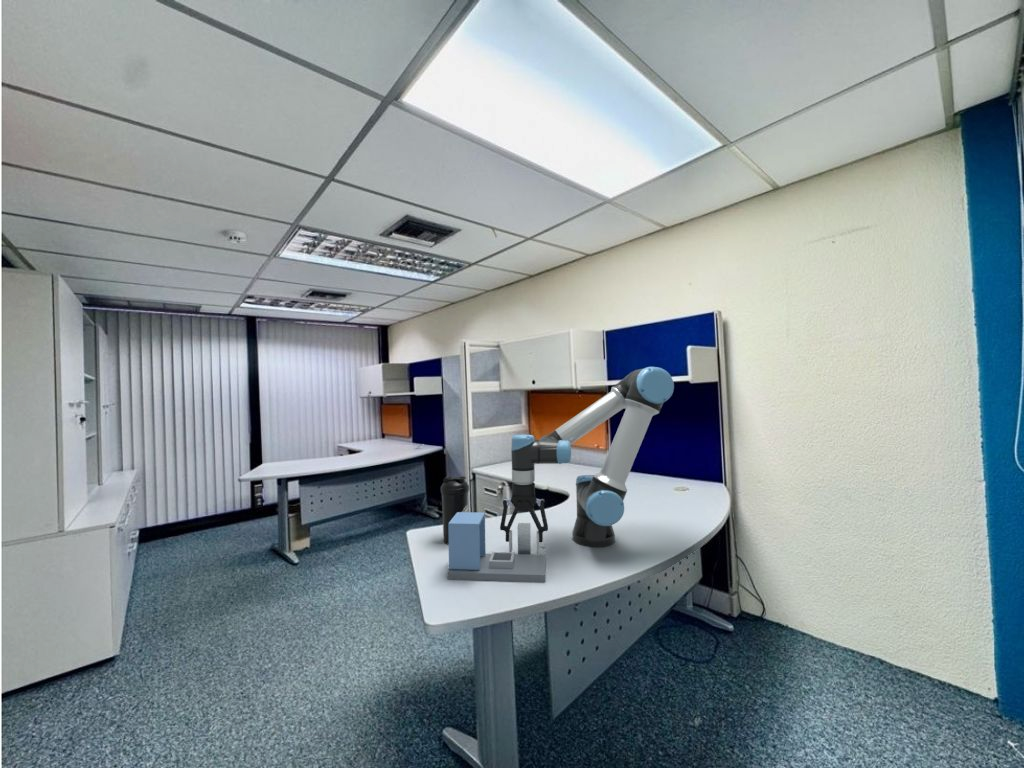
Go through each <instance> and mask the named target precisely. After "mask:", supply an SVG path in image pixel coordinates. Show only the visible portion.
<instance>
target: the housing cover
mask: <svg viewBox="0 0 1024 768" xmlns="http://www.w3.org/2000/svg"><path fill="white" fill-rule="evenodd" d="M448 529H449V545H448V570H449V569H467V570H480V556H485V555H486V554H487V551H486V512H478V511H477V512H473V511H472V512H471V511H468V512H457V513H456V514H455V516H454V517H453V518H452V520H451V521H450V522H449V523H448Z"/></svg>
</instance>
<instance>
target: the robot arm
mask: <svg viewBox="0 0 1024 768" xmlns="http://www.w3.org/2000/svg"><path fill="white" fill-rule="evenodd" d="M674 389H675V383H674V380H673V378H672V376H671V374H670V373H669V372H668V371H667V370H666V369H663V368H662V367H657V366H647V367H644V368H639V369H635V370H633V371H631V372H630V373H629V374H627V375H626V376H625V377H624V378H622V379H621V380H620V381H619V382H617V383H616V384H614V385H613V386H612V387H611V389H610V392H607V393H606V394H605V395H604V396H602V397H600V398H599V399H597V400H596V401H595V402H594V403H592V404H591V405H589V406H587V407H586V408H584V409H583V410H582V411H580V412H579V413H578V414H576V415H575V416H573V417H571V418H570V419H569V420H568V421H566V422H565V423H562V425H560V426H558V428H556V429H554V430H553V431H552V432H550V433H549V434H548V435H544V436H542V437H541V438H540V439H539V440H536V439H535V437H534V435H532V434H515V435H513V436H512V437H511V447H510V449H511V481H512V483H511V491H512V492H511V498H503V501H502V506H503V510H502V514H501V522H500V526H499V529H500V531H503V532H505V542H508V552H513V529H511V527H512V525H513V523H514V521H515V518H516V516H517V514H518V512H529V514H530V516H531V518H532V520H533V523H534V524H535V527H536V529H537V530H536V555H540V543H543V542H544V541H543V540H544V538H543V537H544V535H543V534H544V532H547V531H548V530H549V525H548V520H547V516H546V509H545V499H544V498H541V499H540V498H537V497H536V483H535V480H536V478H535V476H536V472H535V465H536V464H537V465H540V464H541V465H542V464H545V465H550V464H551V465H552V464H553V465H554V464H555V465H556V464H557V465H561V464H569V463H570V462H571V460H572V448H571V445H573V444H574V443H575V442H577V441H578V440H579V439H581V438H582V437H584V436H585V435H587V434H588V433H590V432H592V431H593V430H594V429H595V428H597V427H598V426H600V425H602V424H603V423H605V422H606V421H607V420H609V419H610V418H612V417H613V416H614V415H616V414H618V413H619V412H620V411H623V409H625V411H624V412H623V416H622V417H621V420H620V423H619V425H618V427H617V430H616V433H615V435H614V437H613V440H612V442H611V445H610V447H609V450H608V452H607V455H606V457H605V459H604V461H603V464H602V467H601V469H600V471H599V472H598V473H596V474H595V473H594V474H585V475H584V474H582V475H578V476H577V477H576V480H575V491H576V519H575V522H574V526H573V529H572V532H571V533H572V536H571V538H572V541H574V542H575V543H576V544H579V545H581V546H587V547H594V548H596V547H597V548H599V547H607V546H610V545H613V544H614V543H615V542H616V535H615V530H614V527H613V525H615V524H617V523H618V522H619V521H620V520H621V519H622V517H623V516H624V513H625V503H624V500H625V497H626V495H627V492H628V489H627V486H626V483H627V479H628V476H629V475H630V472H631V470H632V467H633V465H634V462H635V459H636V458H637V454H638V453H639V450H640V447H641V445H642V442H643V440H644V439H645V435H646V433H647V431H648V428H649V425H650V423H651V421H652V418H653V416H656V415H658V414H660V412H661V409H662V407H663V405H664V403H665V402H667V401H668V400H669V399H670V398H671V397H672V396H673V393H674ZM511 504H512V505H513V506H514V509H513V511H512V514H511V517H510V518H509V521H508V523H507V525H506V520H507V516H508V515H507V514H508V508H509V506H510V505H511ZM536 504H537V506H538V507H539V511H540V515H541V521H542V524H541V521H540V520H539V517H538V515H537V513H536V512H535V508H534V506H535V505H536Z"/></svg>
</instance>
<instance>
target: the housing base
mask: <svg viewBox="0 0 1024 768" xmlns="http://www.w3.org/2000/svg"><path fill="white" fill-rule="evenodd" d="M515 553H516V552H514V551H512V552H509V551H492V552H491V553H486V555H485V556H480V570H467V569H449V568H448V571H447V580H453V581H454V580H456V581H457V580H458V581H485V582H486V581H492V582H496V581H497V582H521V583H522V582H523V583H525V582H526V583H527V582H528V583H529V582H530V583H546V570H547V569H546V567H547V565H546V564H547V556H546V555H547V554H531V555H526V554H518V553H517V554H515Z"/></svg>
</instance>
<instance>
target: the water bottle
mask: <svg viewBox="0 0 1024 768" xmlns="http://www.w3.org/2000/svg"><path fill="white" fill-rule="evenodd" d="M465 479H467V477H466V476H456V477H455V476H454V477H451V475H449V476H448V475H447V476H446V477H444V478H443V480H442V484H441V486H440V493H441V505H442V507H441V508H442V533H443V543H444V544H446V545H448V546H449V529H448V523H449V522H450V521H451V520H452V518H453V517H454V516H455V514H456V513H457V512H469V511H468V509H469V507H468V506H469V504H468V503H469V491H470V485H469V484H468V482H467V481H466V480H465Z"/></svg>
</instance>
